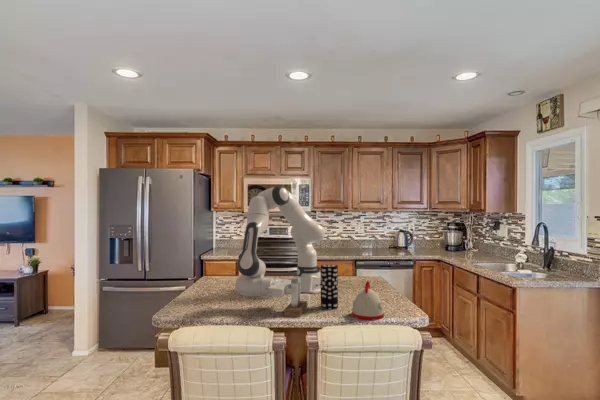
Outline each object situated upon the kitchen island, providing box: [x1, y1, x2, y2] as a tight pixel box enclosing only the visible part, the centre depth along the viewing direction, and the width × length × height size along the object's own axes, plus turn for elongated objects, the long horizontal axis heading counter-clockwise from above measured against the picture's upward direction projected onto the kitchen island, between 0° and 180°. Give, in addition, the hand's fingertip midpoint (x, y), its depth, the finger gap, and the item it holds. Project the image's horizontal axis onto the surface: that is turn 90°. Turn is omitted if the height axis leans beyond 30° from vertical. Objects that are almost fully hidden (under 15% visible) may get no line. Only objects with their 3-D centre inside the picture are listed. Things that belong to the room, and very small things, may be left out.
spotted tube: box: [320, 263, 339, 310], centre depth 174 cm, size 8×8×20 cm
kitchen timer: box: [351, 281, 385, 321], centre depth 161 cm, size 14×14×15 cm
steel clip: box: [290, 275, 301, 307], centre depth 167 cm, size 6×3×13 cm, turn 167°
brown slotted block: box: [283, 300, 308, 318], centre depth 167 cm, size 16×7×3 cm, turn 167°
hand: (297, 288), depth 167 cm, fingers closed on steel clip, 6 cm apart
